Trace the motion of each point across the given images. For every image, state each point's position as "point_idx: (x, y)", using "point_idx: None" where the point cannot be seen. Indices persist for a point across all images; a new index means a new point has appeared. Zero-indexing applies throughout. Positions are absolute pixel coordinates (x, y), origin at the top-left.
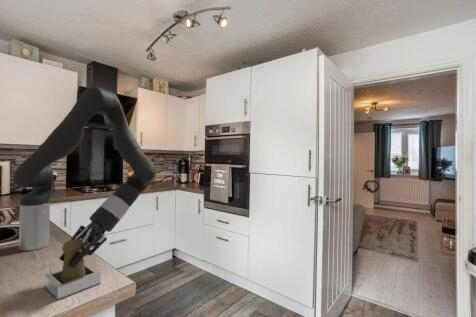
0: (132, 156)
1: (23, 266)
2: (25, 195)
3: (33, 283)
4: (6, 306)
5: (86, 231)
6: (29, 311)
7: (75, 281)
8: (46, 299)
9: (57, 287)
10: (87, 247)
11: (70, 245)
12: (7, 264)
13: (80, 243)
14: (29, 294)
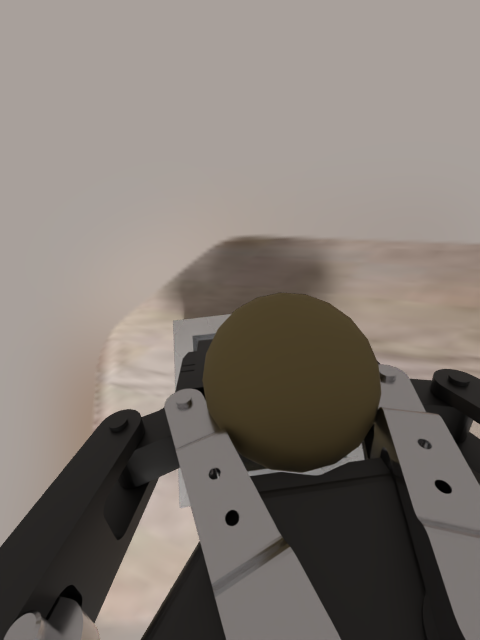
0: None
1: None
2: None
3: (365, 299)
4: (255, 239)
5: (432, 586)
6: (183, 274)
7: (176, 381)
8: (218, 313)
9: (176, 320)
10: (89, 449)
11: (223, 326)
12: None
13: (219, 414)
14: (288, 283)
